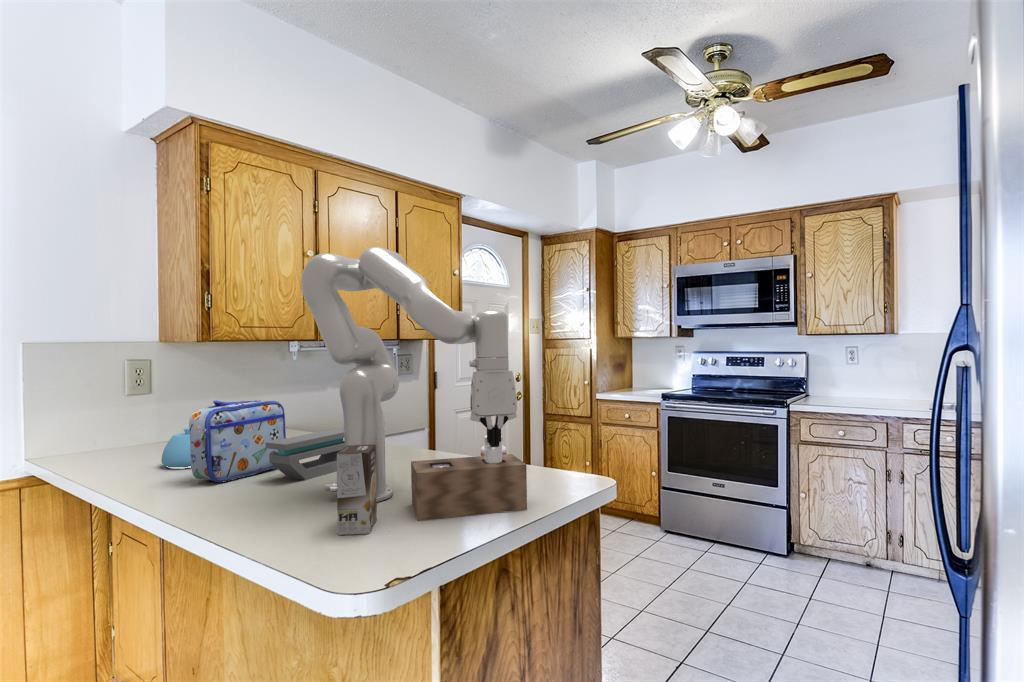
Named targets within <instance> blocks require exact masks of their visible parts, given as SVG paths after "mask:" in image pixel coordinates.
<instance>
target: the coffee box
mask: <svg viewBox="0 0 1024 682" xmlns="http://www.w3.org/2000/svg"><path fill="white" fill-rule="evenodd" d="M336 454H337V471H336V483H337V492H336V493H337V494H336V495H337V496H336V497H337V500H336V501H337V502H336V503H337V535H339V536H342V535H343V536H344V535H346V536H347V535H368V534H369V533H370V532H371V531H372V528H373V527H374V525H375V523H376V521H377V519H378V518H377V517H378V513H377V512H378V506H377V503H378V502H377V496H376V445H375V444H374V445H348V446H346V447H344V448H343V449H342V450H340V451H339V452H338V453H336Z"/></svg>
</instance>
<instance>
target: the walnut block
mask: <svg viewBox="0 0 1024 682" xmlns="http://www.w3.org/2000/svg"><path fill="white" fill-rule="evenodd" d="M410 464H411V465H410V470H411V471H410V480H411V506H412V507H411V508H412V509H413V511H414V512H413V513H414V516H415V518H416V520H417V522H420V521H429V520H430V521H431V520H438V519H439V520H440V519H448V518H451V519H452V518H458V517H469V516H478V515H487V514H499V513H506V512H507V513H508V512H518V511H525V510H526V511H527V510H528V493H527V492H528V491H527V490H528V489H527V488H528V485H527V484H528V483H527V482H528V481H527V478H528V477H527V463H525V462H524V461H522V460H521V459H520V458H518V457H516V456H515V455H514V454H512V453H506V454H503V455H502V463H489V464H486V463H485V456H481V455H479V456H466V457H465V456H464V457H453V458H439V459H438V458H437V459H426V460H413V461H412V460H411V461H410ZM436 464H449V465H450V467H438V468H432V466H433V465H436Z"/></svg>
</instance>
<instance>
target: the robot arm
mask: <svg viewBox="0 0 1024 682" xmlns="http://www.w3.org/2000/svg"><path fill="white" fill-rule="evenodd" d="M427 283H428V281H427V280H426V278H425V277H424V276H422V275H421V274H420V273H418V272H417V271H415V270H414V269H413V268H411V267H409V265H408V264H407V261H406V259H405V258H404V257H403V256H402V254H400V253H398V252H397V251H393V250H390V249H387V248H384V247H380V246H371V247H369V248H368V247H367V248H366V249H365V250H364V251H363V252H361V254H360V255H359V258H351V257H348V256H344V255H340V254H336V253H328V252H324V253H323V252H322V253H319V254H316V255H314V256H313V257H310V259H309V260H308V261H307V263H306V264H305V266H304V269H303V271H302V274H301V280H300V284H301V285H300V287H301V291H302V295H303V298H304V301H305V303H306V305H307V306H308V307H307V308H308V309H309V310H310V313H311V314H312V316H313V318H314V321H315V323H316V326H317V329H318V331H319V333H320V336H321V338H322V340H323V342H324V345H325V347H326V349H327V352H328V354H329V356H330V358H331V359H332V360H333V362H335V363H336V364H339V365H342V366H352V365H355V367H354V368H352V369H350V370H348V371H346V373H345V374H344V375H343V376H342V378H341V380H340V382H339V383H340V384H339V397H340V401H341V402H340V403H341V407H342V413H343V415H342V416H343V429H344V438H343V441H344V447H346V446H348V445H374V444H375V445H376V496H377V503H379V502H382V501H385V500H387V499H389V498H391V497H392V495H393V489H392V488H391V487H388V486H387V485H386V483H387V482H386V480H387V479H386V478H387V477H386V476H387V475H386V474H387V473H386V426H385V416H384V411H383V409H382V404H381V403H383V402H386V401H389V400H391V399H392V398H393V397H395V395H396V394H397V392H398V390H399V386H400V379H399V375H398V372H397V371H396V368H395V365H394V363H393V361H392V359H391V356H390V354H389V353H388V350H387V348H386V346H385V344H384V342H383V339H382V338H381V337H380V335H379V334H378V333H377V332H376V331H375V330H373V329H372V328H370V327H367V326H366V327H365V326H358V324H357V323H356V321H355V319H354V318H353V315H352V313H351V310H350V308H349V306H348V304H347V303H346V302H345V300H344V299H343V298H342V297H341V295H340V294H339V291H344V292H345V291H346V292H360V291H367V290H373V289H374V290H375V289H379V290H380V291H381V292H383V293H384V294H386V295H387V296H388V298H389V297H390V298H391V299H392V300H393V301H394V302H396V303H397V304H398V305H399V306H400V307H402V308H403V310H404V311H405V313H406V314H407V315H408V316H409V317H410V318H411V320H413V322H415V323H416V324H417V325H418V326H419V327H421V328H422V329H423V330H425V331H426V332H427V333H428V334H430V335H431V336H432V337H434V338H435V339H437V340H438V341H440V342H442V343H443V344H447V345H464V344H471V343H474V345H475V346H474V351H475V352H474V353H475V356H474V357H475V358H474V359H473V360H469V362H468V363H469V364H468V365H469V368H474V369H475V371H473V372H472V377H471V385H470V386H471V387H470V399H469V401H470V402H469V403H470V416H469V420H470V421H472V422H476V423H481V424H482V425H483V426H484V427H485V428H486V435H487V442H488V443H489V445H490V446H492V447H495V446H497V447H498V446H499V442H501V435H502V429H503V428H504V426H505V424H506V423H507V422H508V421H510V420H513V419H516V418H517V416H518V415H517V411H518V401H517V389H516V383H515V376H514V372H513V370H510V369H509V368H510V367H509V364H510V363H509V330H508V329H509V328H508V327H509V325H508V315H507V314H506V312H505V311H502V310H483V311H479V312H476V313H475V312H468V311H467V312H466V311H460V310H455V309H454V308H451V306H449V305H448V304H446V303H445V302H444V301H442V300H441V299H440V298H438V297H437V296H436V295H435V294H434V293H433V292H432V291H431V290H430V289H429V287H428V285H427ZM492 417H495V421H494V425H493V420H492ZM325 492H330V493H337V482H325Z"/></svg>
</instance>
